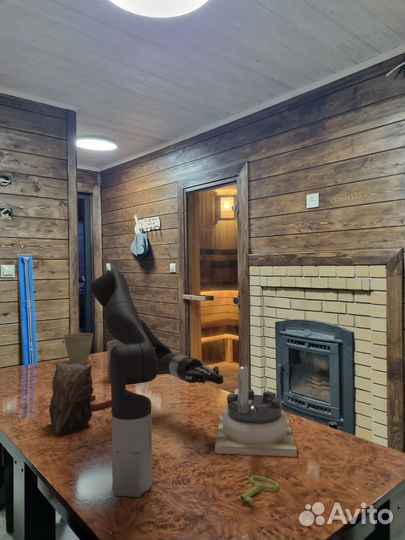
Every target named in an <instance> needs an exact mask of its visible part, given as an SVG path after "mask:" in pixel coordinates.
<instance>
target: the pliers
mask: <svg viewBox="0 0 405 540" xmlns="http://www.w3.org/2000/svg"><path fill="white" fill-rule="evenodd" d="M94 400H95V401H96V400H97V399H96V396H95V395H93V394H92V396H91V400H90V403H91V402H95V401H94ZM110 406H111V407H112V404H111V399H108V400H106V401H104V402H99V403H94V404H93V403H92V404H91V412H95V411H102V410H106V409H108V408H110ZM105 408H106V409H105ZM101 409H102V410H101Z"/></svg>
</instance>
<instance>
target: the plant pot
mask: <svg viewBox="0 0 405 540" xmlns="http://www.w3.org/2000/svg"><path fill="white" fill-rule="evenodd" d="M93 336H94V334H93V333H90V332H75V333H68V334H65V335H64V336H63V338H64V343H65V350H66V353H67V357H68V359H69V362H70V364H78V363H83V364H84V365H86V366H87V362H88V360H89V357H90V352H91V349H92V344H93V339H94V338H93Z"/></svg>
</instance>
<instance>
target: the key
mask: <svg viewBox="0 0 405 540" xmlns="http://www.w3.org/2000/svg"><path fill="white" fill-rule="evenodd" d="M257 480H258V481H263V482H266V483H268V485H267V484H263V483H260V482H258V481H257ZM269 484H271V485H269ZM249 485H251V487H252V488H250V489H249V490H248V491H246V492H244V493H243V494H241V495H240V497H239V500H240V501H241V502H242V503H244V502H245V501H246V502H249V503H251V504H252V502H254V498H252V496H254V495H255V494H257V493H261V492H262V491H263V492H270V493H271V492H272V493H274V492H277V491H279V489H280V484H279V483H278V482H277V481H275V480H273V479H271V478H267V477H265V476H261V475H251V476H250V477H249Z"/></svg>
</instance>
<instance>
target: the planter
mask: <svg viewBox="0 0 405 540" xmlns="http://www.w3.org/2000/svg"><path fill="white" fill-rule="evenodd" d="M106 344H107V349H106V350H107V359H106V360H107V361H106V362H107V383H108V382H110V383H111V377H110V352H111V349H112V348H113V347H114V346H116V345H125V344H123V343H122V342H120V341H118V340H117V339H113V340H109V341H107V343H106Z"/></svg>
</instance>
